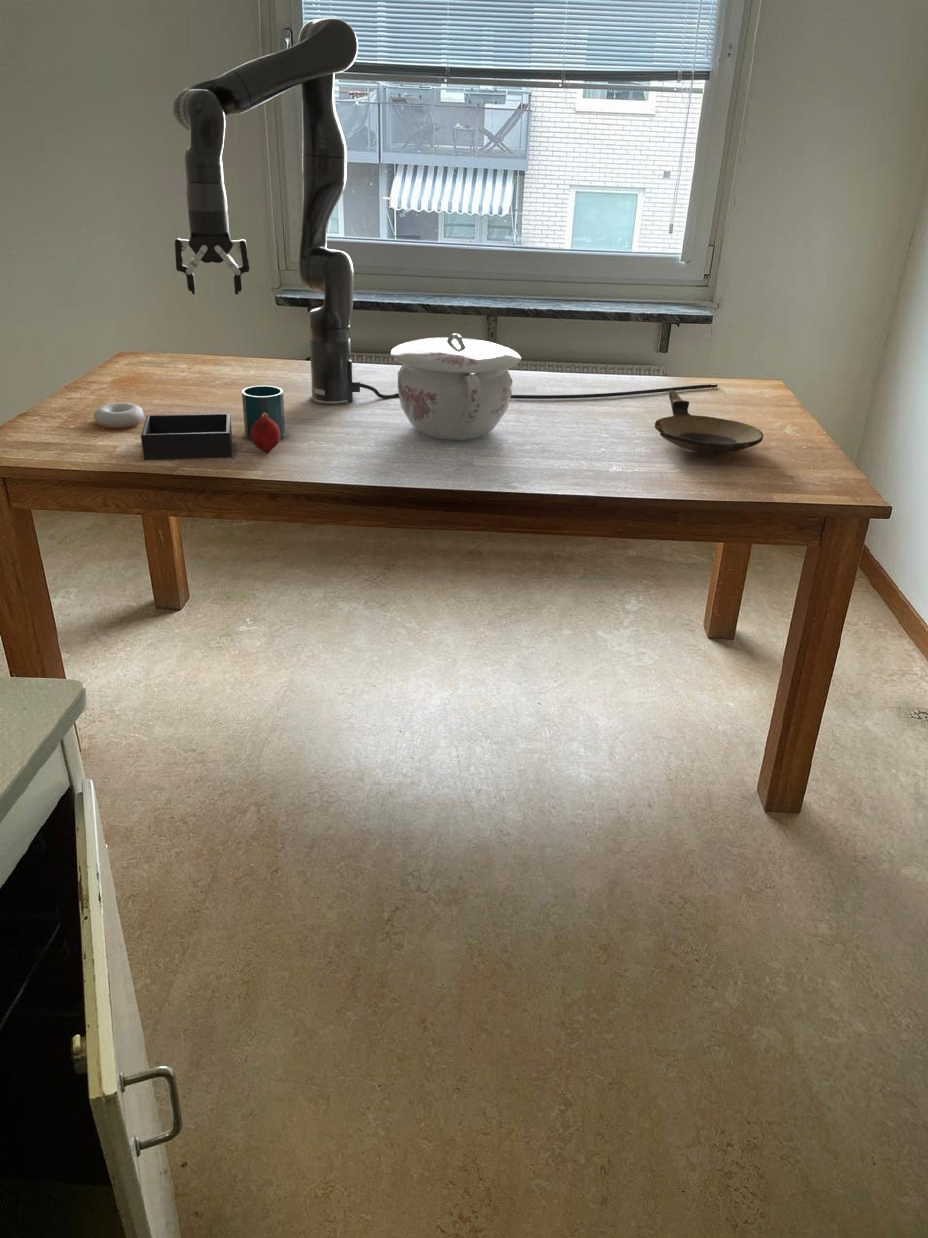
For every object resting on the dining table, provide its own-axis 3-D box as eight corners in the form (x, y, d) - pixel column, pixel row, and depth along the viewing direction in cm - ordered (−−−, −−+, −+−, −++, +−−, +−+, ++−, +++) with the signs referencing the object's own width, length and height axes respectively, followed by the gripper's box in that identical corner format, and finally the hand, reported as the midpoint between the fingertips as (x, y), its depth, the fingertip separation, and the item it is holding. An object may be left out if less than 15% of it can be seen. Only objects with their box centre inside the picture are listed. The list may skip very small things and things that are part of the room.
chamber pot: (427, 404, 211) (429, 313, 201) (534, 425, 201) (542, 331, 191) (364, 436, 189) (363, 337, 179) (481, 462, 179) (488, 357, 169)
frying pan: (657, 465, 182) (663, 428, 178) (646, 420, 208) (651, 387, 204) (768, 473, 181) (777, 437, 177) (743, 427, 206) (750, 394, 202)
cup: (284, 429, 191) (282, 385, 186) (286, 442, 184) (283, 396, 180) (245, 430, 190) (241, 385, 185) (245, 443, 183) (241, 397, 178)
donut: (125, 433, 185) (154, 419, 193) (122, 417, 183) (152, 403, 191) (85, 426, 187) (115, 412, 195) (82, 410, 186) (113, 397, 194)
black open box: (232, 436, 186) (230, 413, 183) (231, 457, 175) (229, 432, 173) (149, 438, 182) (146, 414, 180) (144, 460, 172) (140, 435, 169)
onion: (278, 458, 176) (275, 418, 172) (249, 456, 176) (245, 417, 172) (283, 448, 181) (281, 409, 177) (255, 446, 181) (252, 408, 177)
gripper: (168, 208, 170) (178, 297, 178) (245, 210, 173) (251, 297, 181) (170, 204, 177) (180, 290, 185) (244, 205, 179) (250, 290, 188)
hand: (215, 293), depth 183 cm, fingers open, 8 cm apart
